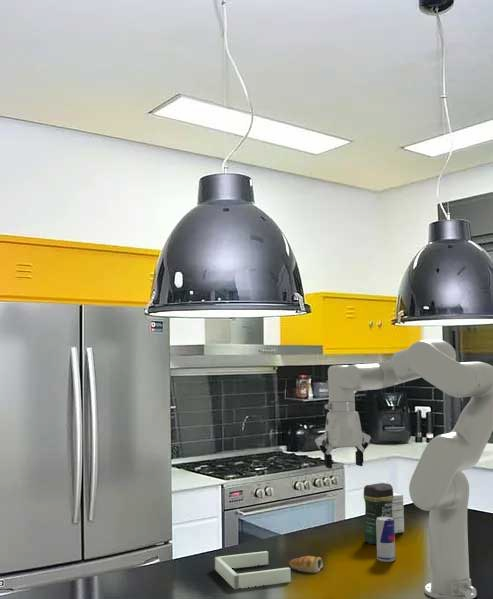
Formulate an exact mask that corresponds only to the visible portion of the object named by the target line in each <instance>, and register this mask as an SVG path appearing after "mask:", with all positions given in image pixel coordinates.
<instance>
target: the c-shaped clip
mask: <svg viewBox="0 0 493 599" xmlns="http://www.w3.org/2000/svg"><path fill="white" fill-rule="evenodd" d="M258 565H259V566H266V565H269V551H267V550H264V551H257V552H247V553H238V554H229V555H222V556H214V570H215V571H216V572H217V574H219V575H220V576H221V577H222V578H223V579H224V580H225V582H227V584H228V585H229V586H231V587H232V588H233V590H240V589H239V588H241V589H247V588H248V587H249V588H255V586H256V587H263V585H264V586H270V585H277V584H278V585H279V584H284V583H291V582H292V580H291V576H292V575H291V571H292V570H291V569H292V568H291V567H280V568H273V569H266V570H259V571H250V572H249V571H248V572H242V573H241V572H240V573H237V572H236V571H235V569H240V568H251V567H255V566H256V567H258ZM232 568H234V569H232ZM249 588H248V589H249Z"/></svg>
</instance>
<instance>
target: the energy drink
mask: <svg viewBox="0 0 493 599" xmlns="http://www.w3.org/2000/svg"><path fill="white" fill-rule="evenodd" d="M376 537H377V544H376V558H377V561H379V562H383V563H390V562H394V561H395V560H396V558H397V557H396V539H395V538H396V533H395V528H394V520H393V518H392V517H386V516H382V517H377V519H376Z"/></svg>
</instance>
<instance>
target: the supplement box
mask: <svg viewBox="0 0 493 599" xmlns="http://www.w3.org/2000/svg"><path fill="white" fill-rule="evenodd" d="M404 510H405V509H404V495H403V494H400V493H396V492H394V491H393V500H392V516H393V520H394V528H395V534H398V533H399V534H400V533H404V532H405V516H404V515H405V514H404V512H405V511H404Z"/></svg>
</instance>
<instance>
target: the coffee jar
mask: <svg viewBox="0 0 493 599" xmlns="http://www.w3.org/2000/svg"><path fill="white" fill-rule="evenodd" d="M393 492H394V488H393V486H392V485H391V484H389V483H385V482H379V483H373V484H366V485H365V486H364V488H363V499H364V500H363V501H364V505H365V510H364V511H365V512H364V531H363V532H364V533H363V535H364V536H363V537H364V538H363V539H364V541H365V542H366V543H368V544H371V545H373V544H374V545H377V537H376V519H377V517H382V516H386V517H392V518H393V516H392V500H393Z"/></svg>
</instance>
